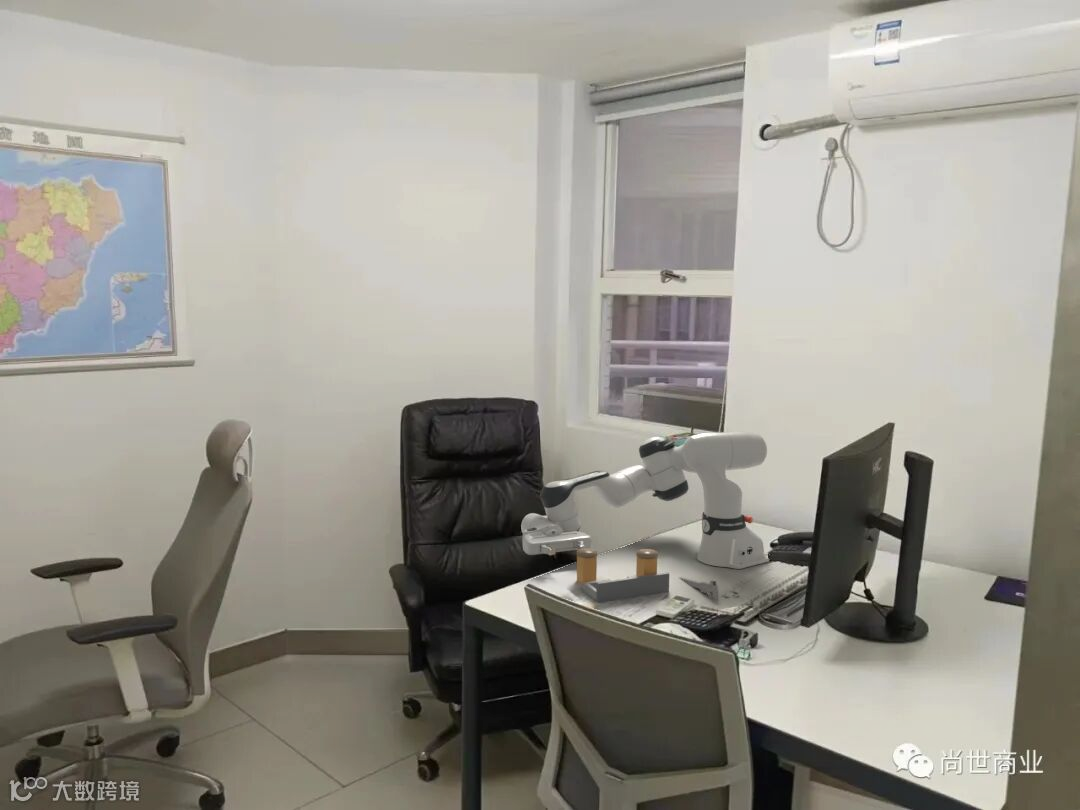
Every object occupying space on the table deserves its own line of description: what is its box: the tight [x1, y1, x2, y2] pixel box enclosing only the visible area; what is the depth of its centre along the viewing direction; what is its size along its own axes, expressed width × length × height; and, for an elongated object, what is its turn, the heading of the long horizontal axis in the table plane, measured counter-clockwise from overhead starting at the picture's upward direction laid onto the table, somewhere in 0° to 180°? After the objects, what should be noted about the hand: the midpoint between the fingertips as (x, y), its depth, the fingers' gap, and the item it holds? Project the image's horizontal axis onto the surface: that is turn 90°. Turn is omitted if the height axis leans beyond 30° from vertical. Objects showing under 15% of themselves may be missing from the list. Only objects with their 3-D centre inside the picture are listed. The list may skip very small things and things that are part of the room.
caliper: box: [678, 576, 719, 602], centre depth 217 cm, size 20×1×6 cm, turn 20°
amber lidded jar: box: [576, 547, 598, 586], centre depth 220 cm, size 6×6×10 cm
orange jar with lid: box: [635, 548, 659, 577], centre depth 216 cm, size 6×6×10 cm
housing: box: [581, 571, 670, 604], centre depth 214 cm, size 21×10×6 cm, turn 112°
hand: (567, 550), depth 231 cm, fingers open, 8 cm apart
